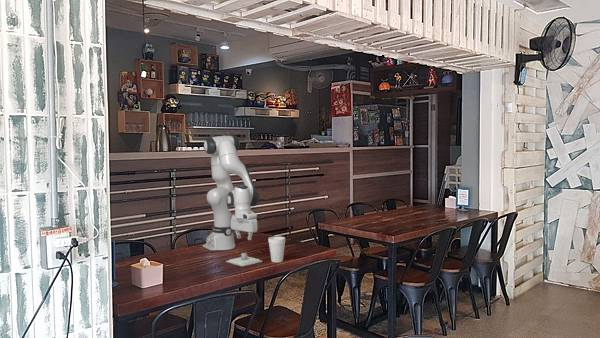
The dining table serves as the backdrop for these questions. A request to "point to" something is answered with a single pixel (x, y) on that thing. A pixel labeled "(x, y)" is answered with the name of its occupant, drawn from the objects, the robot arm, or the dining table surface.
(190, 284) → the dining table surface
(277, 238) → the foam cup
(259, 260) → the mat
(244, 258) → the lid
